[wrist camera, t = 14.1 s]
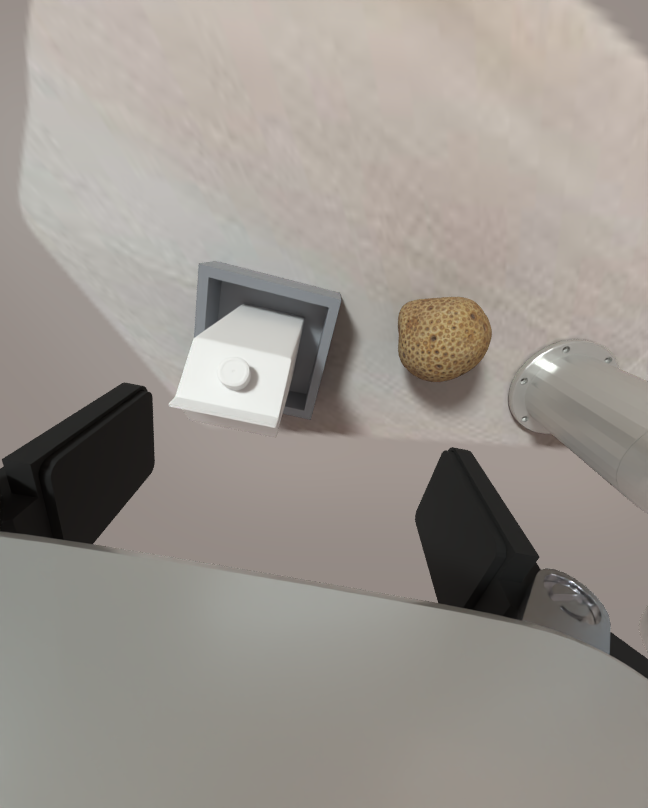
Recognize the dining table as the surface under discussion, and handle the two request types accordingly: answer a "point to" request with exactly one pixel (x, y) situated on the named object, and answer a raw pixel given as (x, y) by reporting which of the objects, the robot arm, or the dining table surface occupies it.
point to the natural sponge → (442, 337)
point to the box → (318, 306)
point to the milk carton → (241, 370)
